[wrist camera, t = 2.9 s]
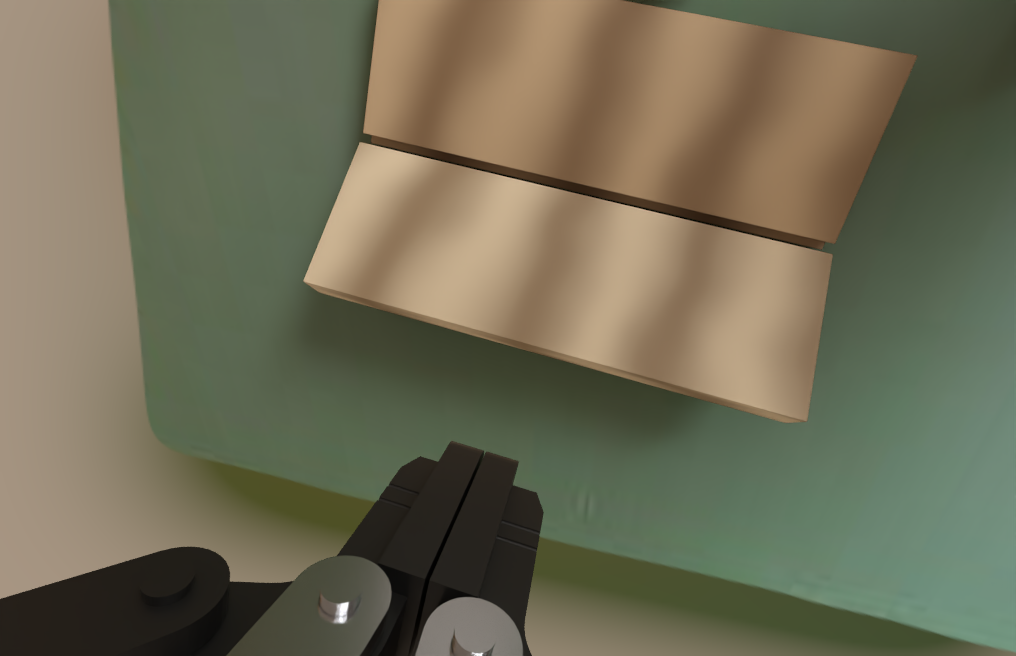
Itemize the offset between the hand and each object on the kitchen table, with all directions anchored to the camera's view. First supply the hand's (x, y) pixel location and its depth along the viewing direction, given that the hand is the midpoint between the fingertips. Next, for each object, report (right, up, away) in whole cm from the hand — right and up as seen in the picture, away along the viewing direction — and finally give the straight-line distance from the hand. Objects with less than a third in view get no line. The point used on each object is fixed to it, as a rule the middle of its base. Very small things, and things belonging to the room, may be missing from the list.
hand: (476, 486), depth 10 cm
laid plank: (+6, +15, +14) cm, 21 cm away
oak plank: (+3, +6, +14) cm, 16 cm away
